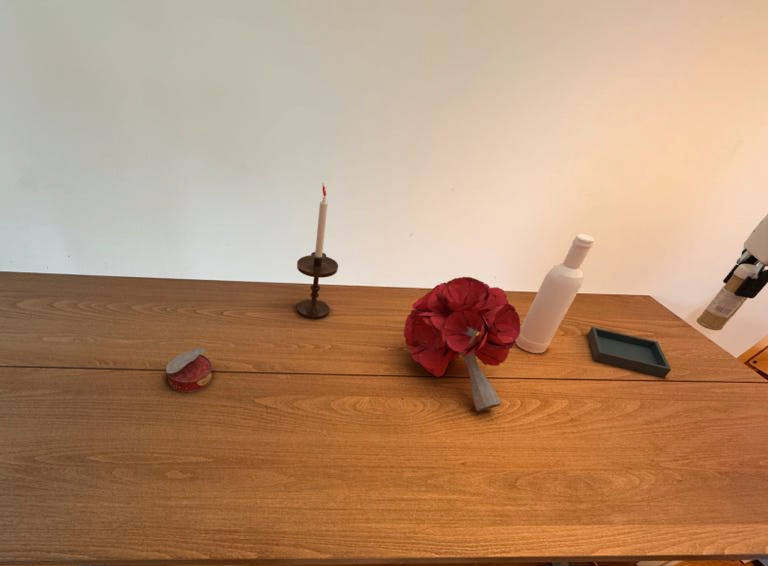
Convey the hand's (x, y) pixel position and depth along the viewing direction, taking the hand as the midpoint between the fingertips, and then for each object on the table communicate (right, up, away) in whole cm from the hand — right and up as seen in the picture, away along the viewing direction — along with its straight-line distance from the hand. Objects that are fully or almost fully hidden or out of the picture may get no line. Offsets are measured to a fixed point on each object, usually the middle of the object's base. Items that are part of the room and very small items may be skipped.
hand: (737, 289), depth 85 cm
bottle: (-26, -10, +28) cm, 39 cm away
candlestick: (-84, 0, +35) cm, 91 cm away
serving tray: (-3, -13, +26) cm, 29 cm away
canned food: (-113, -18, +11) cm, 115 cm away
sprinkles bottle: (0, -7, +6) cm, 9 cm away
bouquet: (-52, -18, +17) cm, 57 cm away
